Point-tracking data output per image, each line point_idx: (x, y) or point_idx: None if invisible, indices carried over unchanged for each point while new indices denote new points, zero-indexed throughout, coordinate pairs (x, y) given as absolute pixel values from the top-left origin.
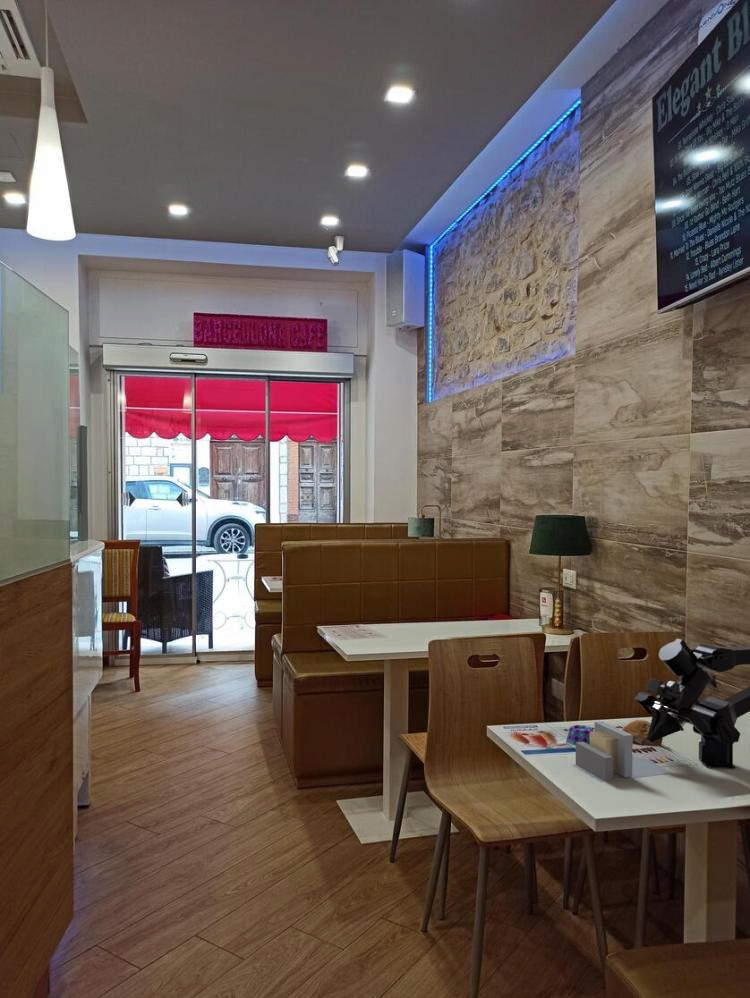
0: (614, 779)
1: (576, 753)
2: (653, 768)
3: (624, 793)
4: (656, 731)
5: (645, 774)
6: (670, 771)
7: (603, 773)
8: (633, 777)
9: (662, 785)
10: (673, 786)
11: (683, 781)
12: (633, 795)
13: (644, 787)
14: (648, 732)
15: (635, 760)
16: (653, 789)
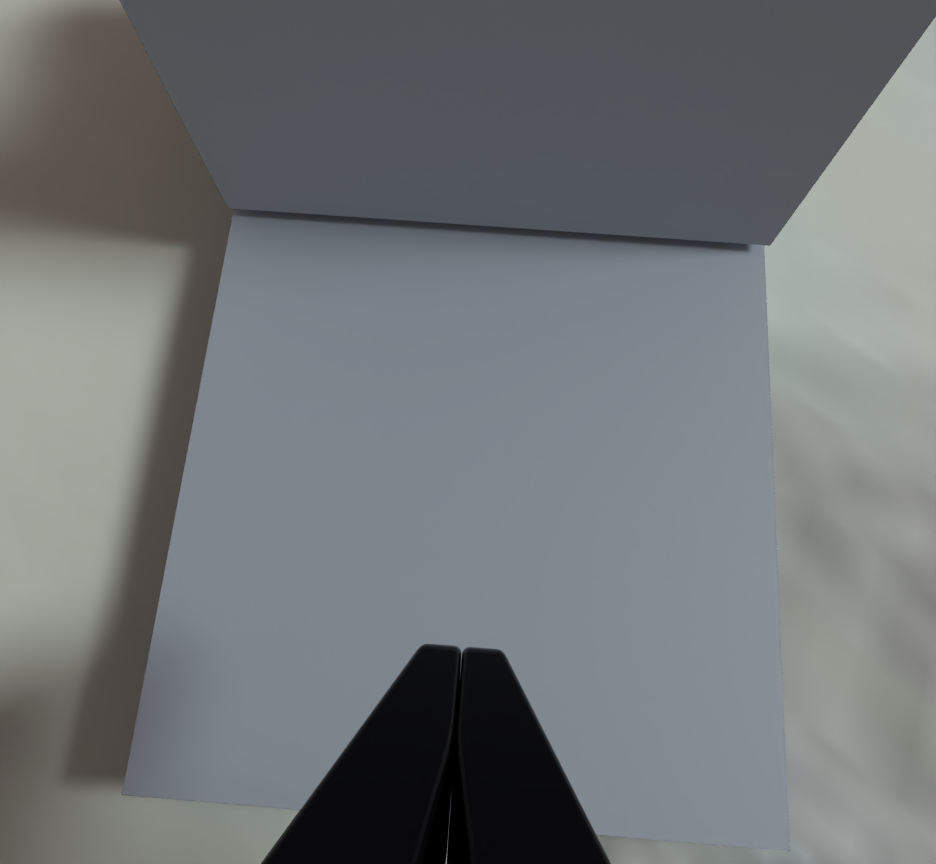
0: None
1: None
2: (358, 655)
3: (139, 76)
4: (280, 850)
5: (245, 411)
6: (180, 792)
7: None
8: (238, 237)
9: (102, 518)
10: (22, 609)
11: (63, 857)
12: (69, 110)
13: (154, 315)
14: (551, 758)
15: (687, 656)
16: (74, 356)
